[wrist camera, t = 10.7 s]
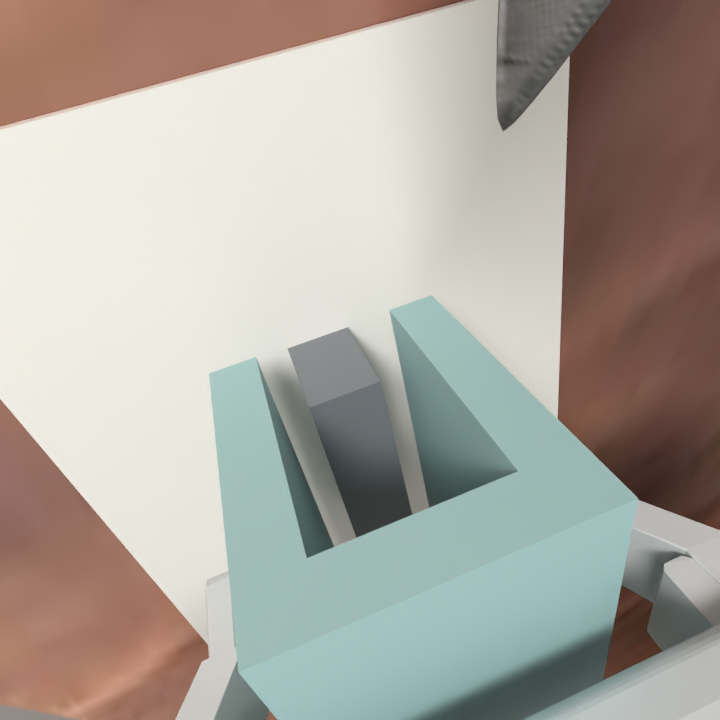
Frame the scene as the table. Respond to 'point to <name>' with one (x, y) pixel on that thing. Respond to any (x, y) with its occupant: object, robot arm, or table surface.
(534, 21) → the inkwell
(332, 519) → the stub plate
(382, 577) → the jaw block
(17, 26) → the table surface
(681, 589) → the robot arm
